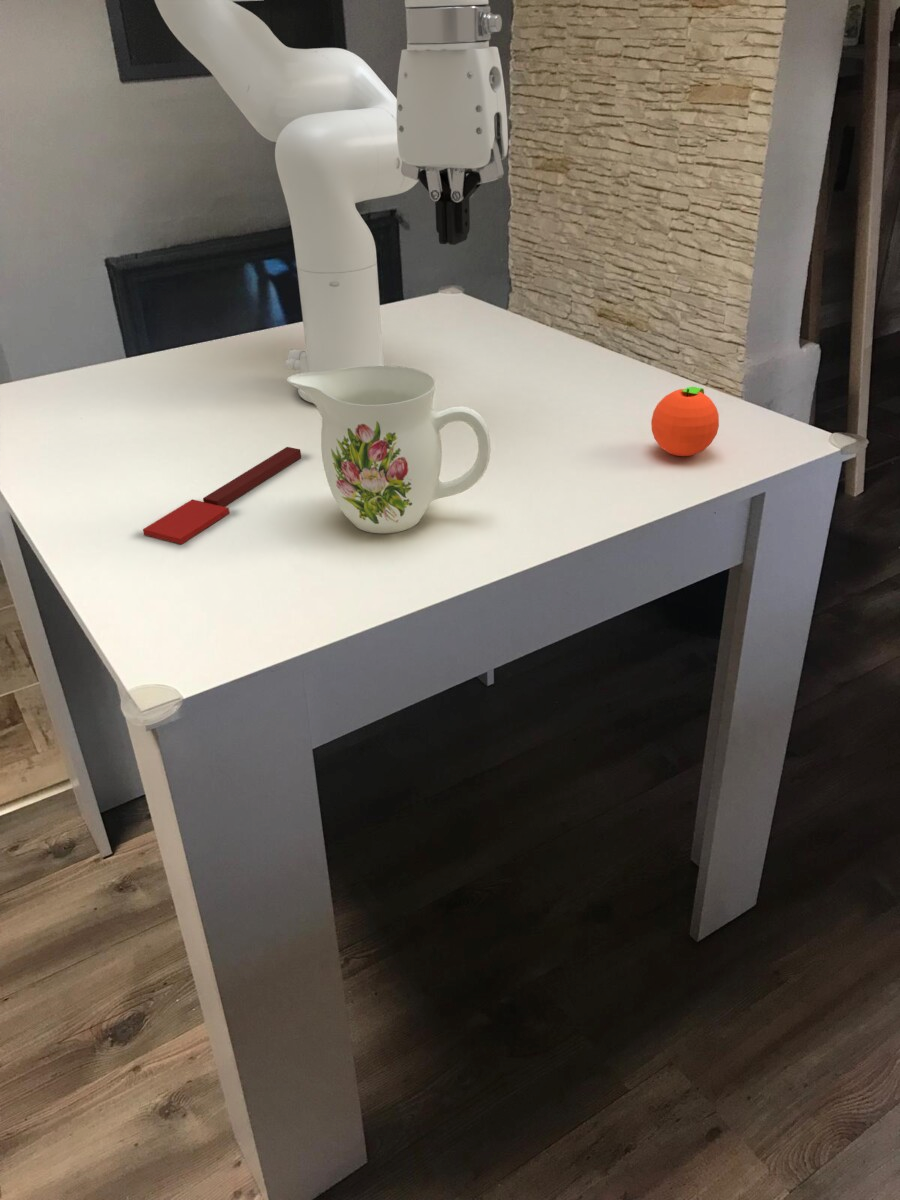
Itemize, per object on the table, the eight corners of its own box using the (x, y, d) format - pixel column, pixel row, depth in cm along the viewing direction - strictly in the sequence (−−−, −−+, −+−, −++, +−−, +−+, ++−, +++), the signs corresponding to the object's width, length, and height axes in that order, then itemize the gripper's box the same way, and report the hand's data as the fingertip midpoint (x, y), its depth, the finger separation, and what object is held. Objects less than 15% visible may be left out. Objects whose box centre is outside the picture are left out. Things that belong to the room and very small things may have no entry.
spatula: (143, 534, 90) (141, 525, 90) (277, 452, 106) (276, 444, 105) (181, 544, 88) (179, 535, 88) (312, 459, 104) (311, 451, 103)
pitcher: (487, 546, 86) (486, 400, 79) (291, 543, 88) (272, 399, 81) (494, 493, 95) (493, 358, 88) (316, 491, 97) (301, 358, 90)
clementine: (669, 433, 107) (675, 371, 103) (729, 445, 104) (737, 382, 100) (637, 458, 102) (642, 393, 98) (699, 472, 98) (707, 405, 94)
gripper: (539, 27, 87) (536, 239, 97) (397, 30, 93) (407, 229, 103) (504, 30, 81) (504, 255, 91) (355, 34, 88) (370, 244, 97)
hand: (453, 241), depth 97 cm, fingers closed
